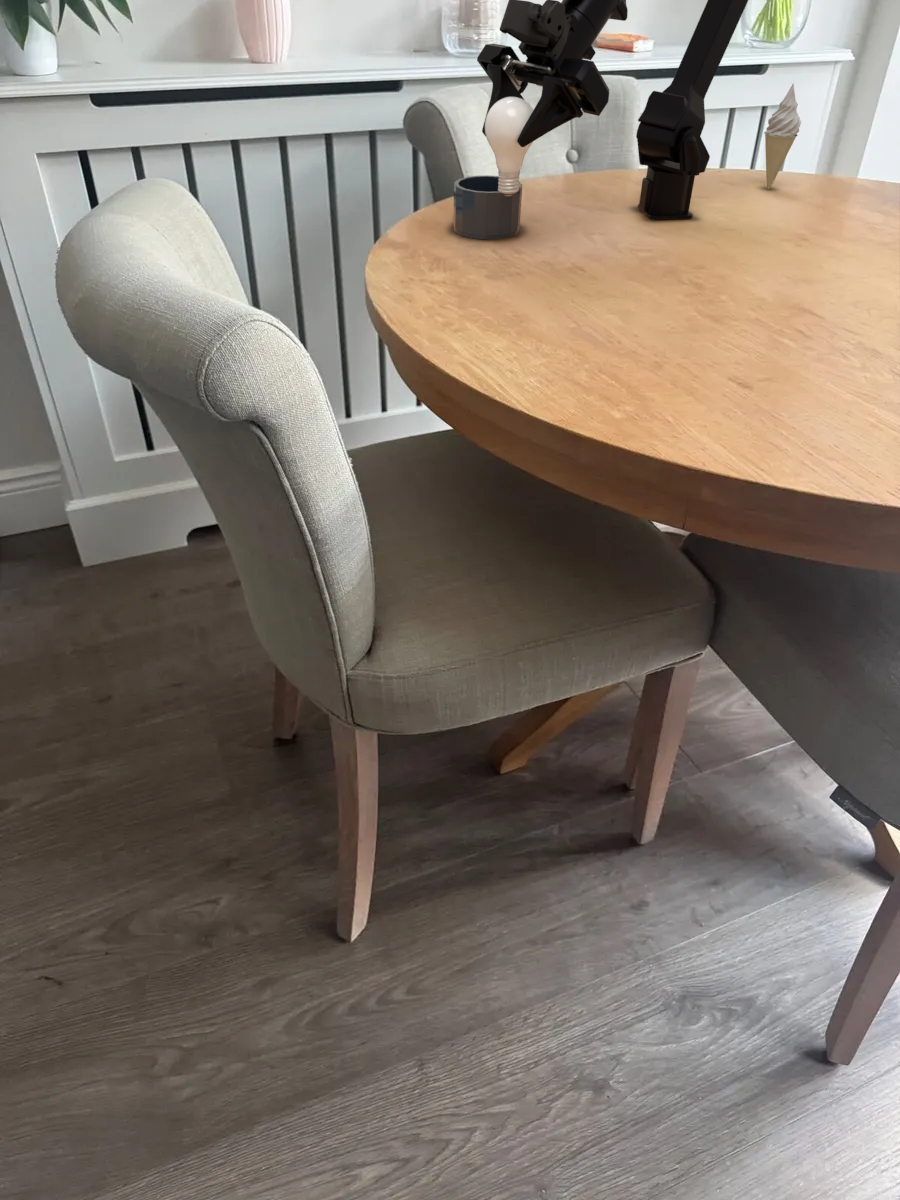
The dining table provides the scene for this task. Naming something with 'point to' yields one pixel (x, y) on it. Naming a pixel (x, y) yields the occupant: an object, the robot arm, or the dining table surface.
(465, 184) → the tube
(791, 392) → the dining table surface
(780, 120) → the ice cream cone
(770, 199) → the dining table surface
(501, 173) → the lightbulb
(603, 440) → the dining table surface
